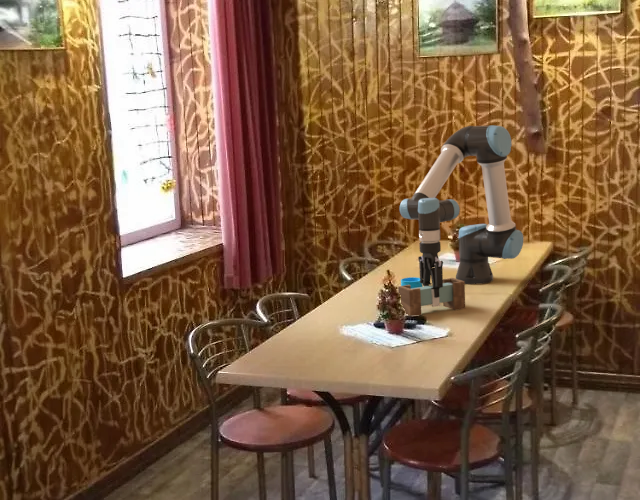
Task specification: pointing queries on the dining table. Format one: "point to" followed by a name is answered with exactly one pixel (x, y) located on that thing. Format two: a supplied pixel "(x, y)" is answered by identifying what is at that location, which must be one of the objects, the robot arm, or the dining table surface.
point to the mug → (411, 282)
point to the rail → (444, 294)
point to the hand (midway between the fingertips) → (432, 304)
